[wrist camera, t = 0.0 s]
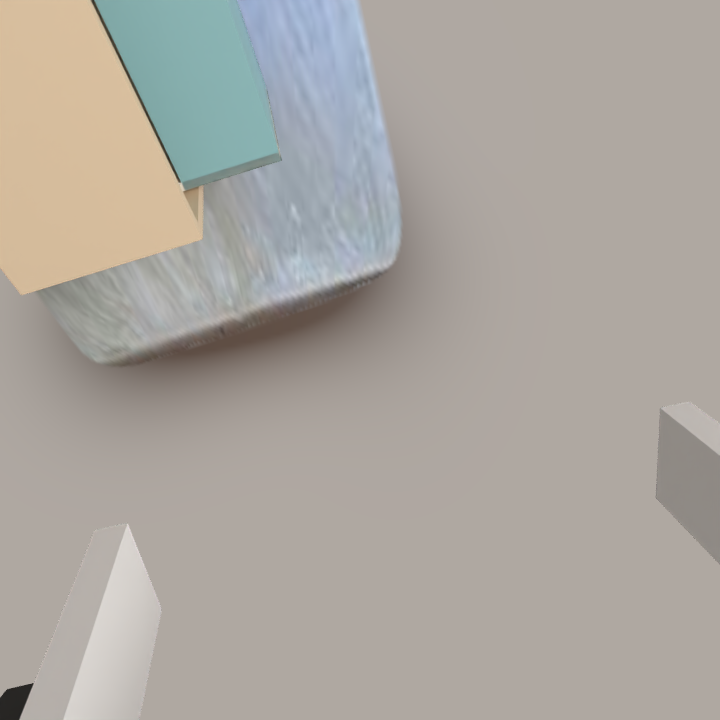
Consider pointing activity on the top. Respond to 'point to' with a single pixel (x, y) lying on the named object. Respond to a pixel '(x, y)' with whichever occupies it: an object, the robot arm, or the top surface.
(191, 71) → the drawer box
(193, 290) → the top surface
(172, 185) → the sleeve
